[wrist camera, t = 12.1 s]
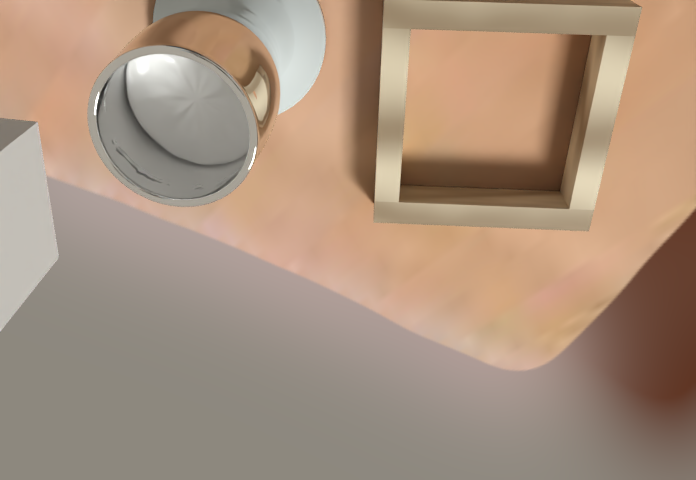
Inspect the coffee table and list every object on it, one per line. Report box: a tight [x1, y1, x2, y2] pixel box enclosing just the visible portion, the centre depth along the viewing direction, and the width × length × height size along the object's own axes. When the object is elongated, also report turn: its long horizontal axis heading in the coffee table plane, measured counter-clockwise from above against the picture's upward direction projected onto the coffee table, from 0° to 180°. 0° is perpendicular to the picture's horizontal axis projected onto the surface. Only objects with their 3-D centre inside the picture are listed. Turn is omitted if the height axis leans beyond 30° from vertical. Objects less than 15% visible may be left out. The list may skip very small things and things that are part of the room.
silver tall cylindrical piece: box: [87, 0, 295, 207], centre depth 32 cm, size 7×7×15 cm
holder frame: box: [374, 0, 642, 231], centre depth 39 cm, size 14×14×2 cm
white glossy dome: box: [153, 0, 326, 114], centre depth 38 cm, size 10×10×1 cm
